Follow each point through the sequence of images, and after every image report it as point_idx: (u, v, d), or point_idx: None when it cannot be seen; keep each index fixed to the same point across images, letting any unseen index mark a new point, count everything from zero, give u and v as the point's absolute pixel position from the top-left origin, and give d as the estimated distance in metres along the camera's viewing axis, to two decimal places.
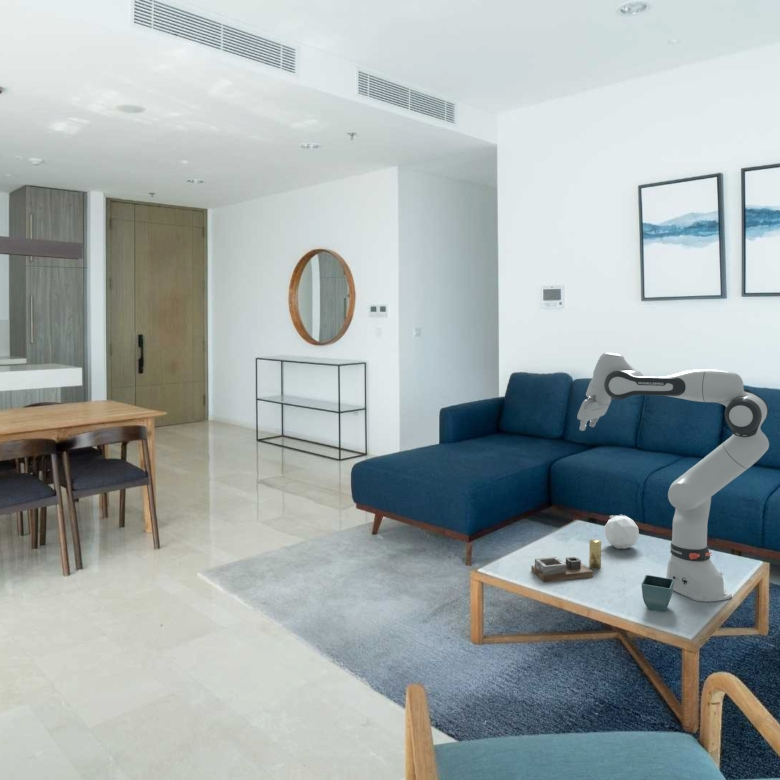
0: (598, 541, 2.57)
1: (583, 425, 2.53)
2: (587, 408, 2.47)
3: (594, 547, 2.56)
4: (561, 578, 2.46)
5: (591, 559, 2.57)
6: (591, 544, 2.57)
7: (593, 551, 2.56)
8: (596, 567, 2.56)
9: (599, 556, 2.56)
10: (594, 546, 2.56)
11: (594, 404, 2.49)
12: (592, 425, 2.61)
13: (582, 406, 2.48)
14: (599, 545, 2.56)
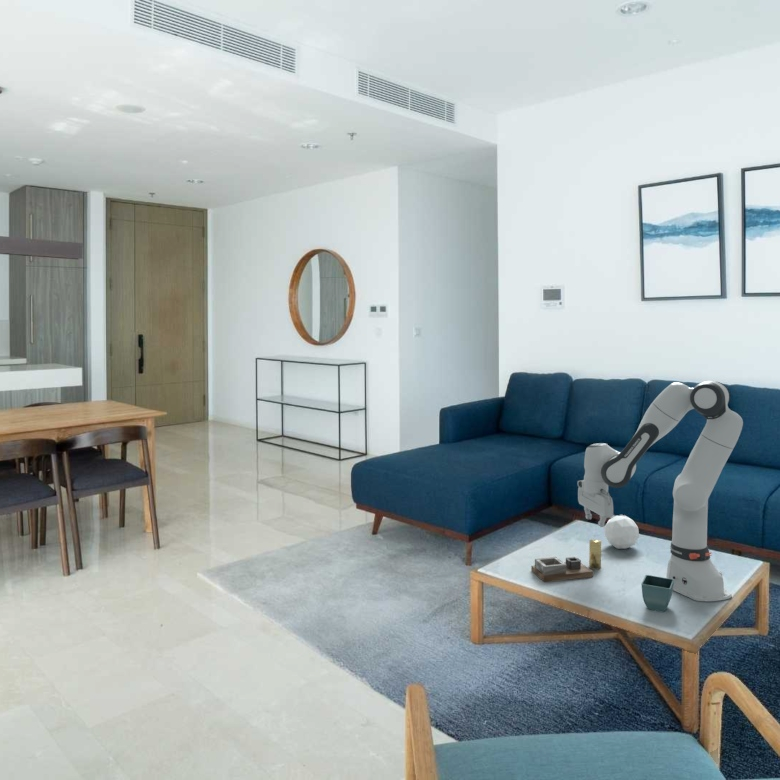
0: (598, 541, 2.57)
1: (603, 521, 2.51)
2: (611, 504, 2.47)
3: (594, 547, 2.56)
4: (561, 578, 2.46)
5: (591, 559, 2.57)
6: (591, 544, 2.57)
7: (593, 551, 2.56)
8: (596, 567, 2.56)
9: (599, 556, 2.56)
10: (594, 546, 2.56)
11: None
12: (590, 517, 2.61)
13: (606, 504, 2.46)
14: (599, 545, 2.56)
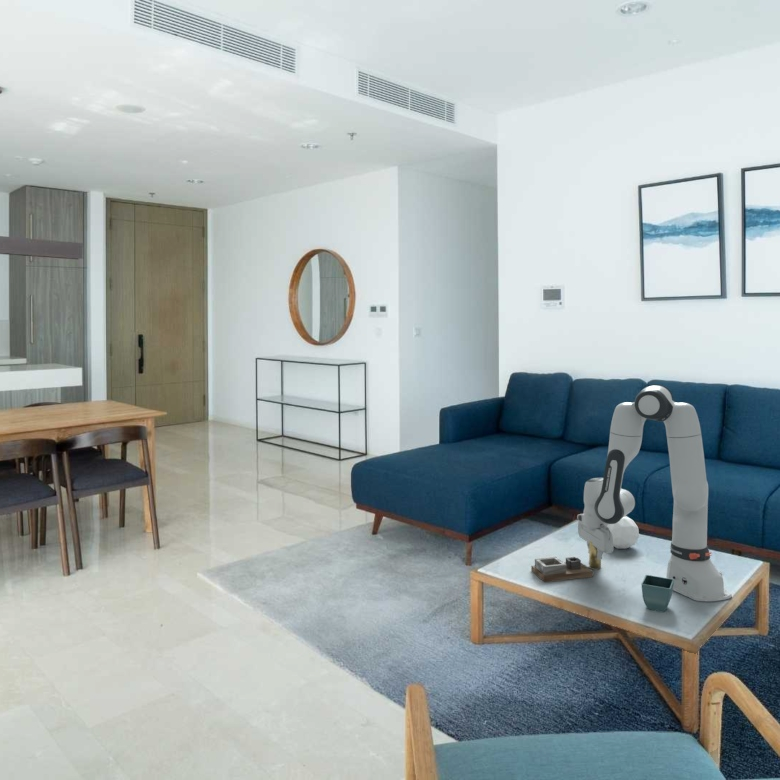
0: None
1: (601, 554, 2.54)
2: (611, 539, 2.48)
3: (594, 547, 2.56)
4: (561, 578, 2.46)
5: (591, 559, 2.57)
6: (591, 544, 2.57)
7: (593, 550, 2.56)
8: (596, 567, 2.56)
9: None
10: (594, 546, 2.56)
11: None
12: None
13: (606, 539, 2.48)
14: None
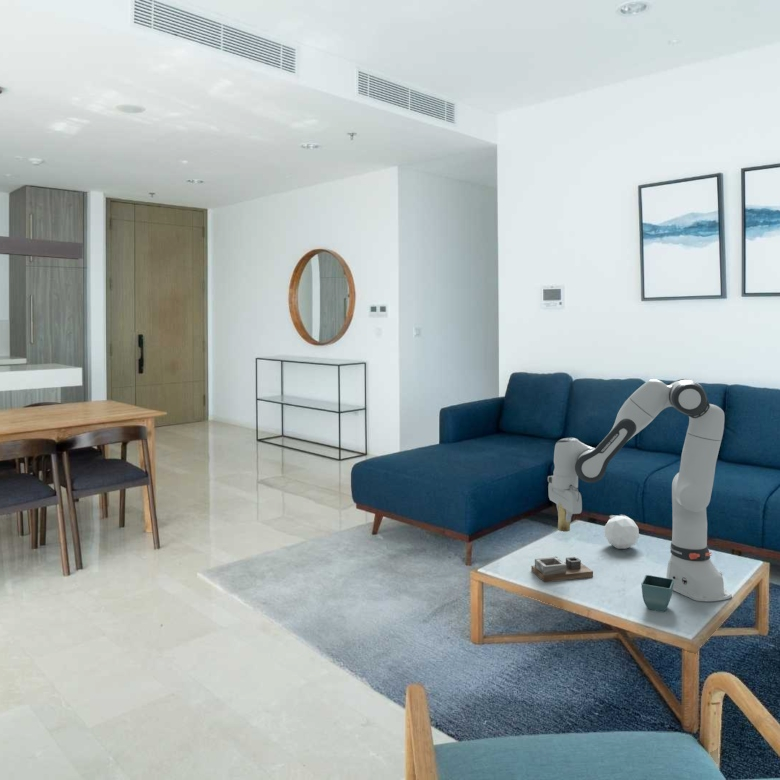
0: None
1: (570, 516, 2.48)
2: (579, 499, 2.42)
3: (563, 509, 2.50)
4: (561, 578, 2.46)
5: (560, 522, 2.51)
6: (560, 506, 2.50)
7: (562, 512, 2.50)
8: (565, 529, 2.50)
9: None
10: (563, 508, 2.50)
11: None
12: None
13: (574, 500, 2.41)
14: None
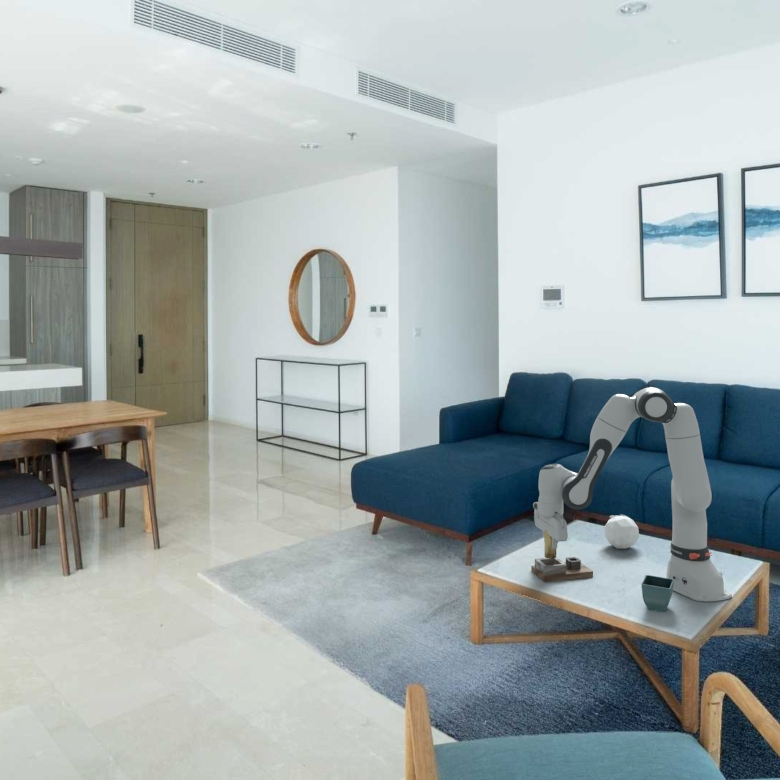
0: None
1: (556, 543, 2.46)
2: (565, 527, 2.40)
3: (549, 536, 2.48)
4: (561, 578, 2.46)
5: (546, 549, 2.49)
6: (546, 533, 2.49)
7: (548, 539, 2.48)
8: (551, 556, 2.49)
9: None
10: (549, 535, 2.48)
11: None
12: None
13: (560, 527, 2.40)
14: None
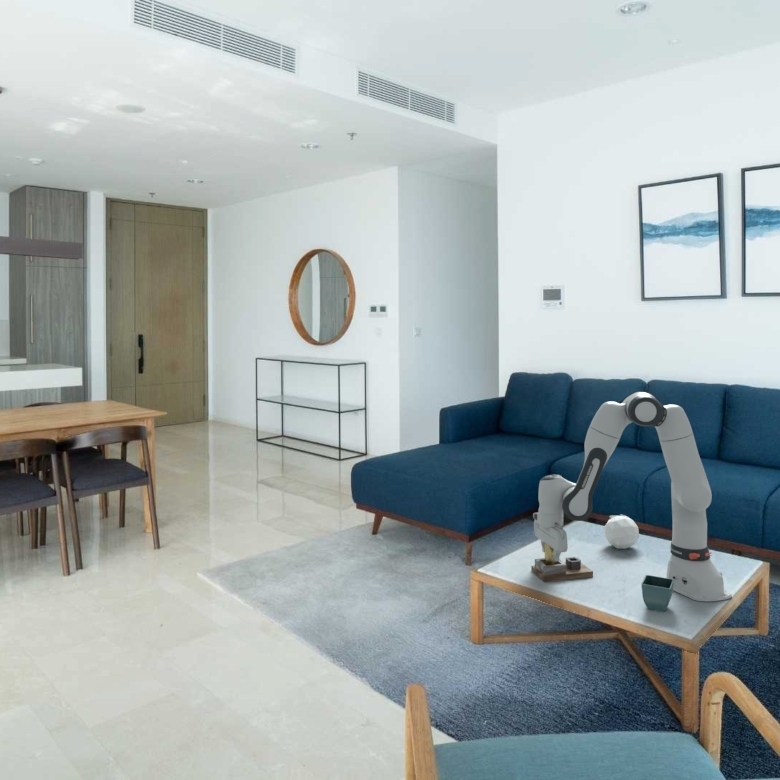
0: None
1: (558, 555, 2.45)
2: (565, 538, 2.41)
3: (549, 549, 2.48)
4: (561, 578, 2.46)
5: (546, 562, 2.50)
6: (546, 546, 2.49)
7: (548, 553, 2.49)
8: None
9: None
10: (549, 548, 2.48)
11: None
12: None
13: (559, 538, 2.40)
14: None
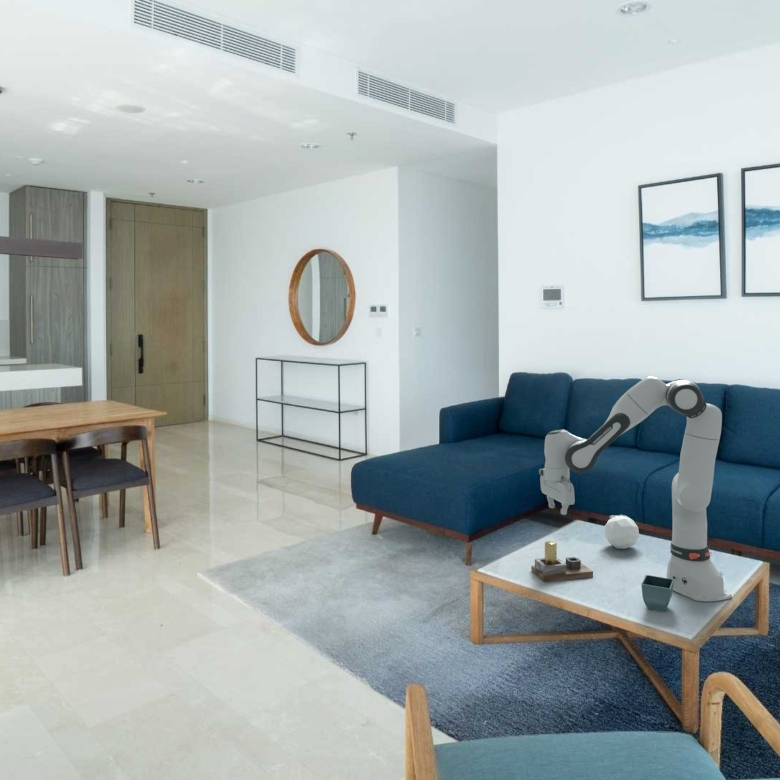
0: (553, 543, 2.50)
1: (565, 509, 2.47)
2: (572, 490, 2.43)
3: (549, 549, 2.49)
4: (561, 578, 2.46)
5: (546, 562, 2.50)
6: (546, 546, 2.49)
7: (548, 553, 2.49)
8: None
9: (554, 558, 2.49)
10: (549, 548, 2.48)
11: None
12: (553, 506, 2.57)
13: (567, 491, 2.42)
14: (554, 547, 2.49)
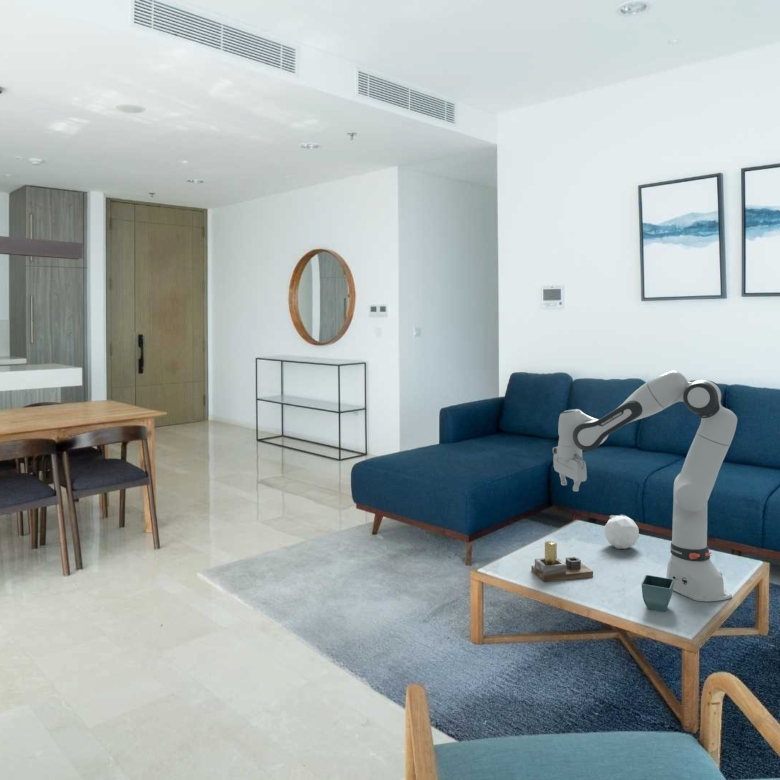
0: (553, 543, 2.50)
1: (577, 485, 2.55)
2: (584, 468, 2.51)
3: (549, 549, 2.49)
4: (561, 578, 2.46)
5: (546, 562, 2.50)
6: (546, 546, 2.49)
7: (548, 553, 2.49)
8: None
9: (554, 558, 2.49)
10: (549, 548, 2.48)
11: None
12: (565, 483, 2.65)
13: (579, 468, 2.50)
14: (554, 547, 2.49)
